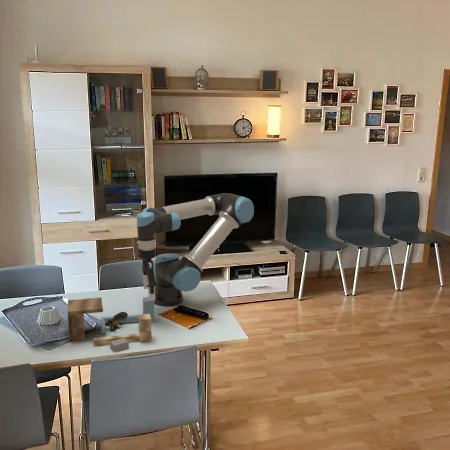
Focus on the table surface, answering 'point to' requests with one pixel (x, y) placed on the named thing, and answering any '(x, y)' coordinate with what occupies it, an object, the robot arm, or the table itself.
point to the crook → (147, 309)
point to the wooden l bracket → (81, 316)
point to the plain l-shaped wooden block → (142, 336)
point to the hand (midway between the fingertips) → (149, 294)
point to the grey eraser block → (119, 344)
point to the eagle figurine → (116, 320)
